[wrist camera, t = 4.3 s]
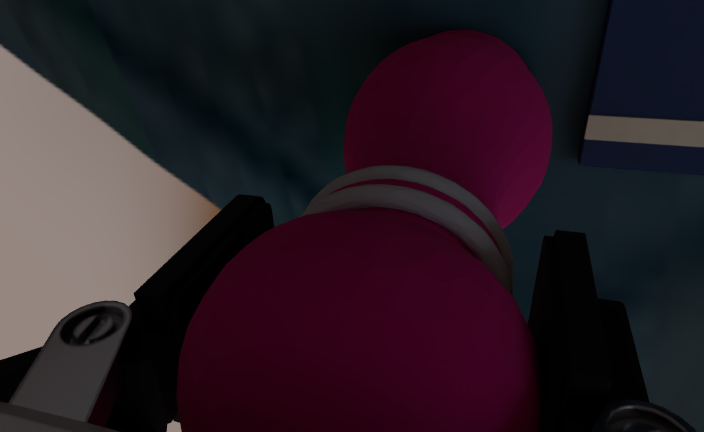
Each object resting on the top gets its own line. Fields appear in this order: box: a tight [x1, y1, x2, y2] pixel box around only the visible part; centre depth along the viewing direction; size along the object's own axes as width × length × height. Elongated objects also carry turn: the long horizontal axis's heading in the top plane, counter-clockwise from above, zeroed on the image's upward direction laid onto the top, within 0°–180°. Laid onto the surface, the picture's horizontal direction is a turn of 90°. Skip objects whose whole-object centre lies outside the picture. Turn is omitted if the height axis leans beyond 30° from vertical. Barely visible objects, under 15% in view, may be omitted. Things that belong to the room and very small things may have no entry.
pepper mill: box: [176, 30, 552, 432], centre depth 14 cm, size 7×7×20 cm
